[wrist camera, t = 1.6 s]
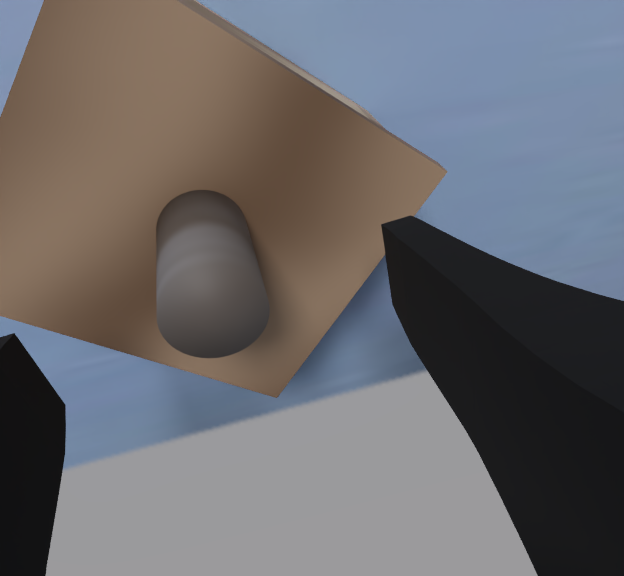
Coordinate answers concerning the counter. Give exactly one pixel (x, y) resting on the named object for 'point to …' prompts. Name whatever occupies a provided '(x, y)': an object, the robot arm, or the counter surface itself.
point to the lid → (188, 192)
